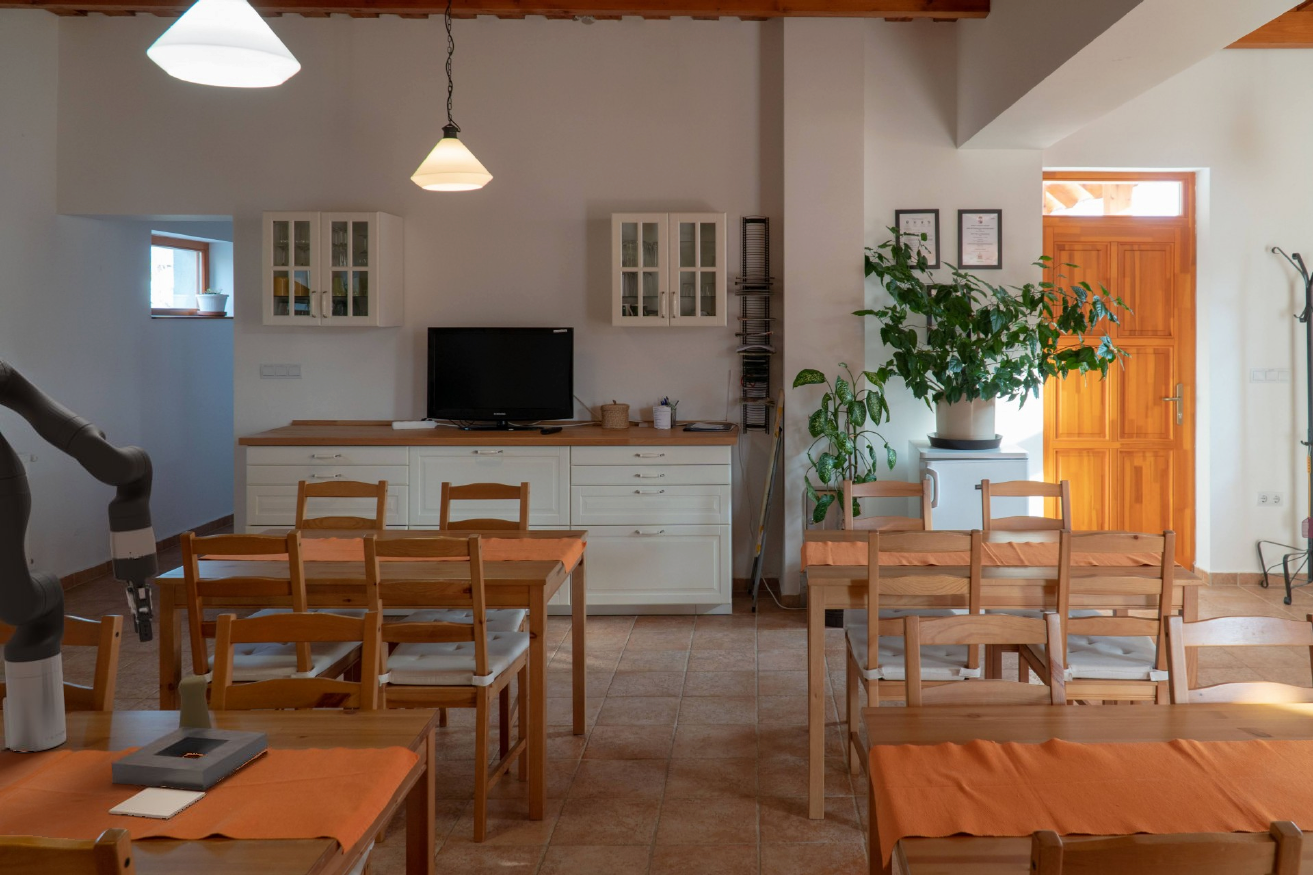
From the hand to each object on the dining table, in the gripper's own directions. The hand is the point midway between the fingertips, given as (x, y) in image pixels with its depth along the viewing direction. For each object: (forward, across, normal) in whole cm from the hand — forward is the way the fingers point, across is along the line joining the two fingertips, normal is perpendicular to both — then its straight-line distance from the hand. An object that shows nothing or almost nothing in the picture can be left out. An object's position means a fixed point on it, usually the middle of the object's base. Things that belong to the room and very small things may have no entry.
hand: (143, 636), depth 195 cm
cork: (+21, -1, +7) cm, 22 cm away
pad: (+21, +32, -3) cm, 38 cm away
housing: (+21, +18, +4) cm, 28 cm away
